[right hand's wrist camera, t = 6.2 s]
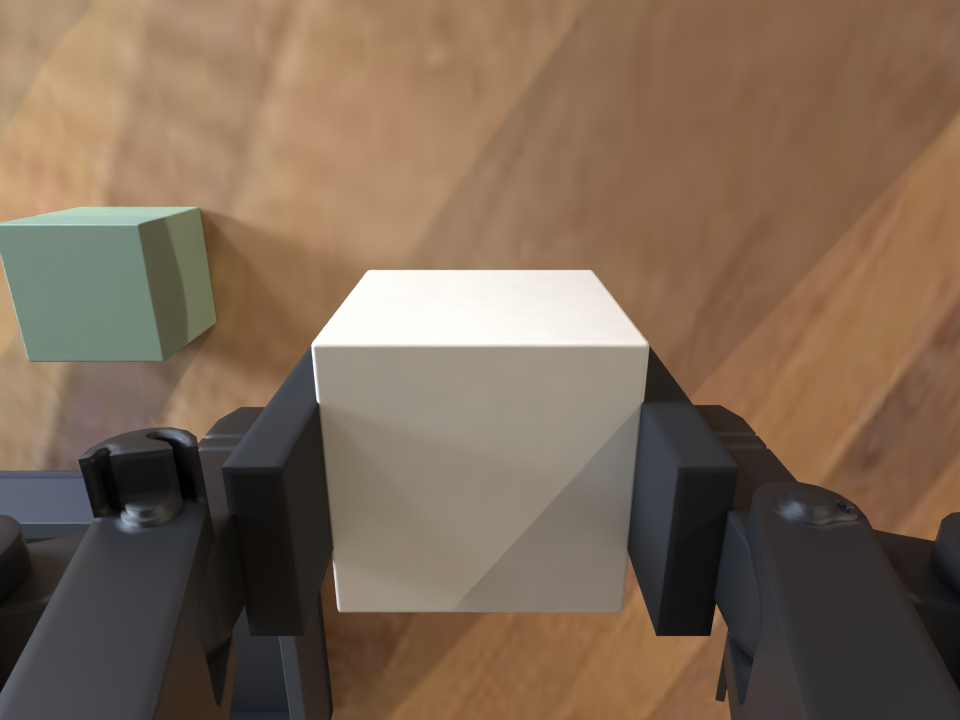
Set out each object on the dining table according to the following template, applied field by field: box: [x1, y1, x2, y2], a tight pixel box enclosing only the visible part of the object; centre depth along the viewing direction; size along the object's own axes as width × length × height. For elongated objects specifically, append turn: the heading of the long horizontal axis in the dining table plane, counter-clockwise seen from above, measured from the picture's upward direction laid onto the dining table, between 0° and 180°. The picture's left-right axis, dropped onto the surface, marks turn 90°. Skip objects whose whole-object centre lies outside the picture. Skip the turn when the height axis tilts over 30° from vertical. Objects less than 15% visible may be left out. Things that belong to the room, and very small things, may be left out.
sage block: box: [0, 207, 217, 362], centre depth 24 cm, size 5×5×5 cm
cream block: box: [311, 270, 649, 612], centre depth 12 cm, size 5×5×5 cm
